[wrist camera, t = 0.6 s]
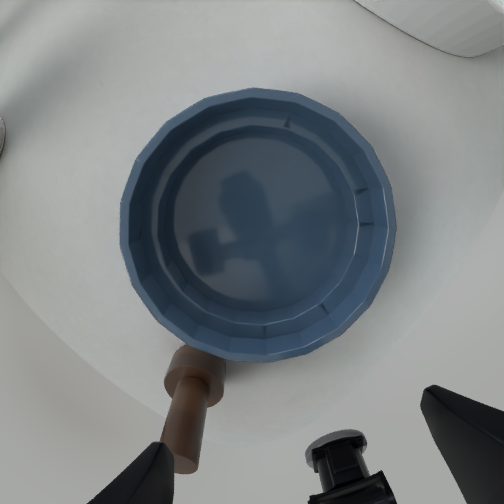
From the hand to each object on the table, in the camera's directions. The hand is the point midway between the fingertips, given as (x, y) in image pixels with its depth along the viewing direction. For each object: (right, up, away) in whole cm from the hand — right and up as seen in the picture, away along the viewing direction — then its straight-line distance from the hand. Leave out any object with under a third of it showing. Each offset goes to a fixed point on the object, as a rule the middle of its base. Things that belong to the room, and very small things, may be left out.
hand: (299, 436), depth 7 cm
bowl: (-1, +8, +11) cm, 13 cm away
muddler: (-6, -3, +13) cm, 15 cm away
